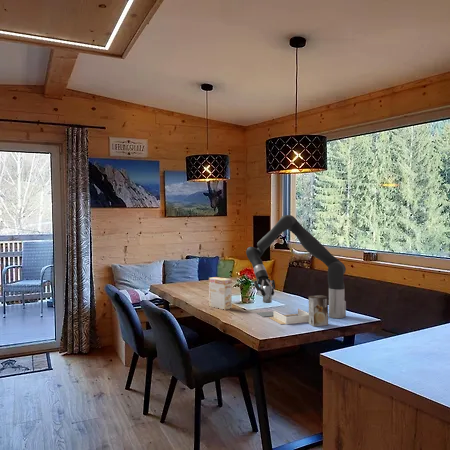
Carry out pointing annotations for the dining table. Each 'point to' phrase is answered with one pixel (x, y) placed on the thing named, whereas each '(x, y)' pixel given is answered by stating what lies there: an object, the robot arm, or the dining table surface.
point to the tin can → (267, 294)
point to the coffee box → (318, 310)
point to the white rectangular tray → (293, 319)
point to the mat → (266, 314)
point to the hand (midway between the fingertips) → (268, 295)
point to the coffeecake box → (220, 293)
